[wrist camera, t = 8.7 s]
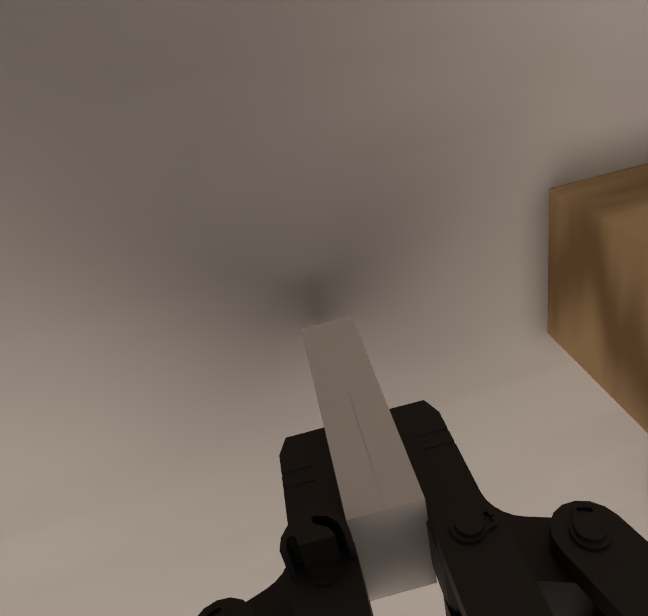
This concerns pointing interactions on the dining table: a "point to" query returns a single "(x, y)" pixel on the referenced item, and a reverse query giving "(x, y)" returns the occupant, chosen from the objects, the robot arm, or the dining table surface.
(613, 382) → the block
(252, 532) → the dining table surface
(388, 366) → the dining table surface
